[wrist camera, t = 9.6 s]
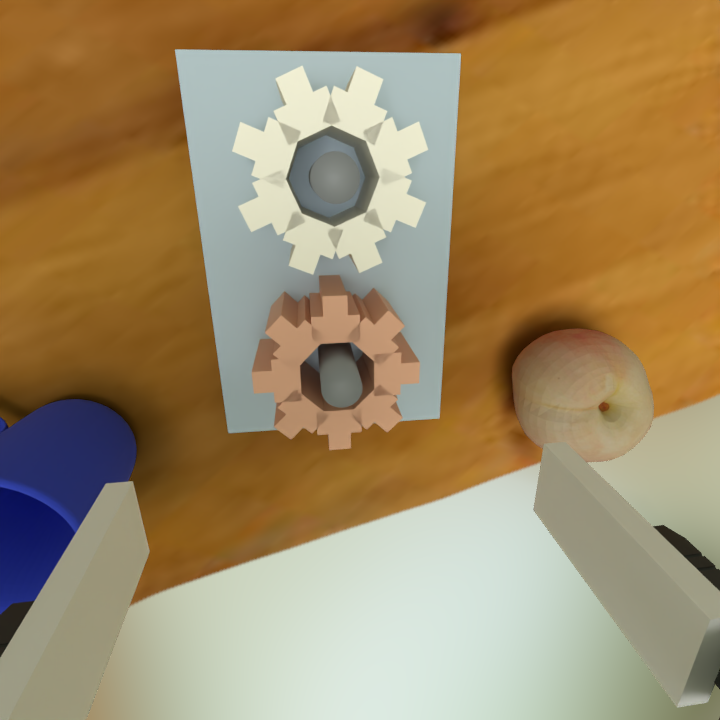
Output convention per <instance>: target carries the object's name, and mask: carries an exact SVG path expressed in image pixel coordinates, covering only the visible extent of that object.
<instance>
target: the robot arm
mask: <svg viewBox="0 0 720 720" xmlns="http://www.w3.org/2000/svg"><path fill="white" fill-rule="evenodd" d="M534 511H535V513H536V514H537V516H538V517H539V518H540V520H541V521H542V522H543V524H544V525H545V527H546V528H547V529H548V531H549V532H550V533H551V535H552V536H553V538H554V539H555V540H556V542H557V543H558V544H559V546H560V547H561V548H562V550H563V551H564V552H565V554H566V555H567V557H568V558H569V560H570V561H571V562H572V564H573V565H574V566H575V568H576V569H577V571H578V572H579V573H580V575H581V576H582V577H583V579H584V580H585V582H586V583H587V584H588V586H589V587H590V589H591V590H592V591H593V593H594V594H595V595H596V597H597V598H598V599H599V601H600V602H601V604H602V605H603V606H604V608H605V609H606V610H607V612H608V613H609V615H610V616H611V617H612V619H613V620H614V622H615V623H616V624H617V626H618V627H619V628H620V630H621V631H622V633H623V634H624V635H625V637H626V638H627V639H628V641H629V642H630V644H631V645H632V646H633V648H634V649H635V650H636V652H637V653H638V655H639V656H640V657H641V659H642V660H643V661H644V663H645V664H646V665H647V667H648V668H649V670H650V671H651V673H652V674H653V675H654V677H655V678H656V679H657V681H658V682H659V684H660V685H661V686H662V688H663V689H664V690H665V692H666V693H667V695H668V696H669V697H670V699H671V700H672V701H673V703H674V704H675V705H676V707H683V706H689V705H695V704H700V703H706V702H708V700H709V697H710V695H711V692H712V690H713V688H714V685H715V684H716V685H717V687H718V688H719V689H720V570H719V569H716V568H715V565H714V564H713V563H711V562H710V561H709V560H708V559H707V558H706V557H705V556H702V554H701V552H700V551H699V550H697V549H696V548H695V547H694V546H693V545H692V544H691V543H690V542H689V541H688V540H687V539H685V538H684V537H682V536H681V535H679V534H677V533H676V532H674V531H672V530H671V529H669V528H667V527H666V526H664V525H661V526H651V524H650V523H649V522H648V521H647V520H646V519H645V518H644V517H642V516H641V515H640V514H639V513H638V512H637V511H636V510H635V509H634V508H633V507H632V506H631V505H630V504H629V503H628V502H627V501H626V500H625V499H624V498H623V497H622V496H621V495H620V494H619V493H618V492H617V491H616V490H614V489H613V487H611V486H610V485H609V484H608V483H607V482H606V481H605V480H604V479H603V478H602V477H601V476H600V475H599V474H598V473H597V472H596V471H595V470H594V469H593V468H592V467H591V466H590V465H589V464H588V463H587V462H586V461H585V460H584V459H583V458H582V457H580V456H579V455H578V454H577V453H576V452H575V451H574V450H573V449H572V448H571V447H570V446H569V445H568V444H567V443H566V442H558V443H547V444H544V447H543V453H542V460H541V466H540V472H539V478H538V485H537V491H536V498H535V504H534ZM149 553H150V551H149V547H148V542H147V538H146V534H145V530H144V526H143V521H142V517H141V513H140V509H139V505H138V500H137V496H136V492H135V488H134V484H133V481H129V482H118V483H107V484H105V486H104V488H103V489H102V491H101V492H100V494H99V496H98V497H97V499H96V501H95V502H94V504H93V506H92V507H91V509H90V511H89V512H88V514H87V516H86V517H85V519H84V521H83V522H82V524H81V525H80V527H79V529H78V530H77V532H76V534H75V535H74V537H73V539H72V540H71V542H70V544H69V545H68V547H67V549H66V550H65V552H64V553H63V555H62V557H61V558H60V560H59V562H58V563H57V565H56V567H55V568H54V570H53V572H52V573H51V575H50V577H49V578H48V580H47V582H46V583H45V585H44V586H43V588H42V590H41V591H40V593H39V595H38V596H37V598H36V600H35V601H28V602H19V603H12V604H11V605H10V606H9V607H8V608H7V609H6V610H5V611H3V612H2V613H1V614H0V720H86V719H87V716H88V714H89V711H90V708H91V705H92V703H93V700H94V698H95V695H96V692H97V690H98V687H99V685H100V682H101V679H102V677H103V674H104V671H105V669H106V666H107V663H108V661H109V658H110V655H111V653H112V650H113V648H114V645H115V642H116V640H117V637H118V634H119V632H120V629H121V626H122V624H123V621H124V618H125V616H126V613H127V611H128V608H129V605H130V603H131V600H132V598H133V595H134V592H135V590H136V587H137V584H138V582H139V579H140V576H141V574H142V571H143V568H144V566H145V563H146V561H147V558H148V555H149ZM719 720H720V718H719Z"/></svg>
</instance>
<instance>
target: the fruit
mask: <svg viewBox="0 0 720 720" xmlns="http://www.w3.org/2000/svg"><path fill="white" fill-rule="evenodd" d="M512 383H513V398H514V405H515V410H516V415H517V418H518V420H519V422H520V424H521V427H522V429H523V430H524V432H525V434H526V435H527V436H528V437H529V438H530V439H531V440H532V441H533V442H534V443H535V444H536V445H538V446H539V447H541V448H542V449H543V447H544V444H547V443H558V442H566V443H567V444H568V445H569V446H570V447H571V448H572V449H573V450H574V451H575V452H576V453H577V454H578V455H579V456H580V457H582V458H583V459H584V460H585V461H586V462H601V461H608V460H612V459H615V458H617V457H620V456H622V455H625V454H626V453H627V452H629V451H630V450H631V449H633V448H634V447H635V446H636V445H637V444H638V443H639V442H640V441H641V439H643V437H644V436H645V435H646V433H647V432H648V430H649V429H650V427H651V424H652V421H653V415H654V403H653V395H652V391H651V388H650V386H649V382H648V379H647V376H646V372H645V369H644V367H643V365H642V363H641V362H640V360H639V358H638V357H637V356H636V355H635V354H634V353H633V352H632V351H631V350H630V349H629V348H628V347H627V346H626V345H624V344H623V343H622V342H620V341H619V340H617V339H616V338H614V337H612V336H609V335H607V334H605V333H603V332H600V331H596V330H588V329H565V330H558V331H553V332H550V333H548V334H545V335H542V336H541V337H539V338H538V339H536V340H534V341H533V342H532V343H530V344H529V345H528V346H527V347H525V348H524V349H523V351H522V352H521V353H520V354H519V355H518V357H517V359H516V361H515V363H514V365H513V368H512Z"/></svg>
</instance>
